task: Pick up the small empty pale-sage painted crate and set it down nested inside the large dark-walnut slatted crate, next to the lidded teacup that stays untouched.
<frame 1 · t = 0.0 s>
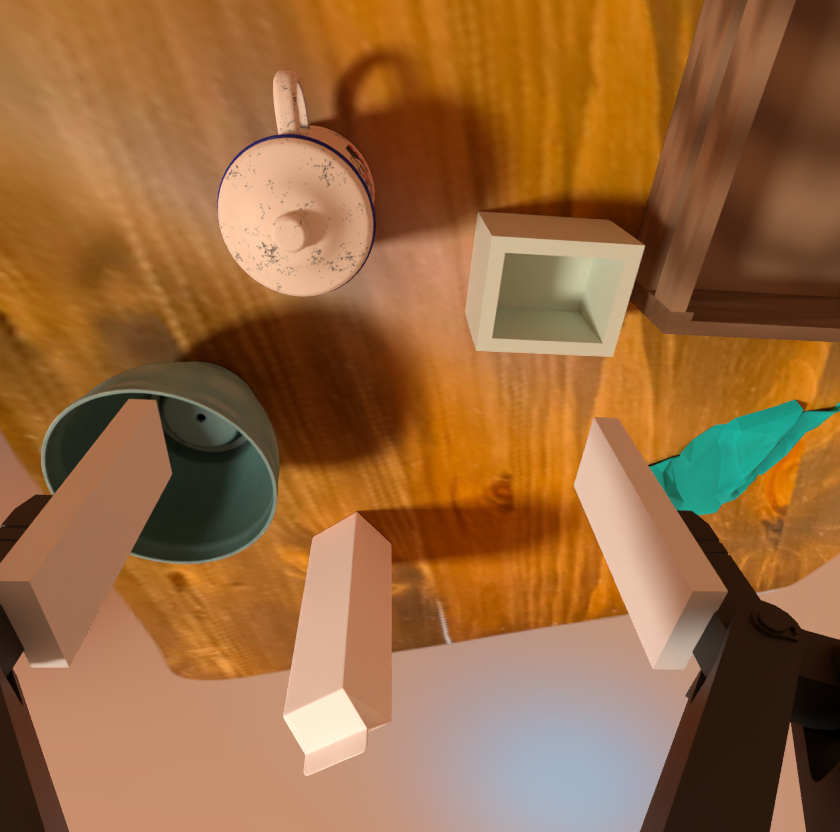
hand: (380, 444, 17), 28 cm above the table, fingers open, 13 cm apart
small crate: (533, 268, 43), on the table
flower pot: (206, 406, 48), on the table
crate: (802, 127, 38), on the table
cloth: (701, 461, 55), on the table
teacup with lid: (312, 170, 38), on the table
milk: (352, 538, 58), on the table
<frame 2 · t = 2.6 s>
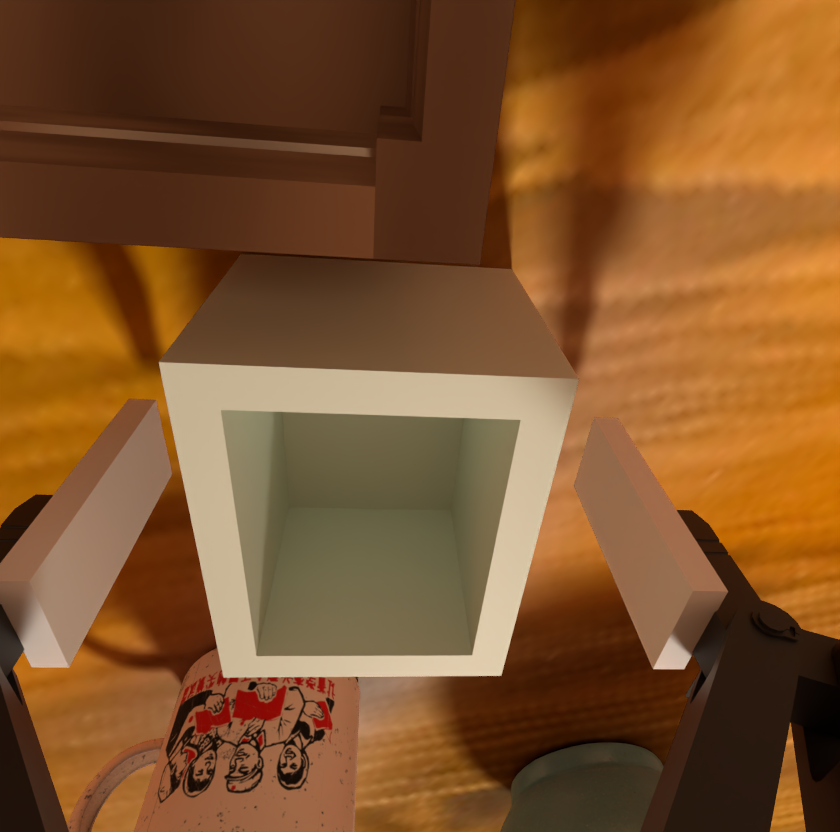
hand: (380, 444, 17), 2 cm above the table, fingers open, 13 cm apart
small crate: (374, 403, 19), on the table
flower pot: (583, 772, 35), on the table
teacup with lid: (245, 684, 28), on the table
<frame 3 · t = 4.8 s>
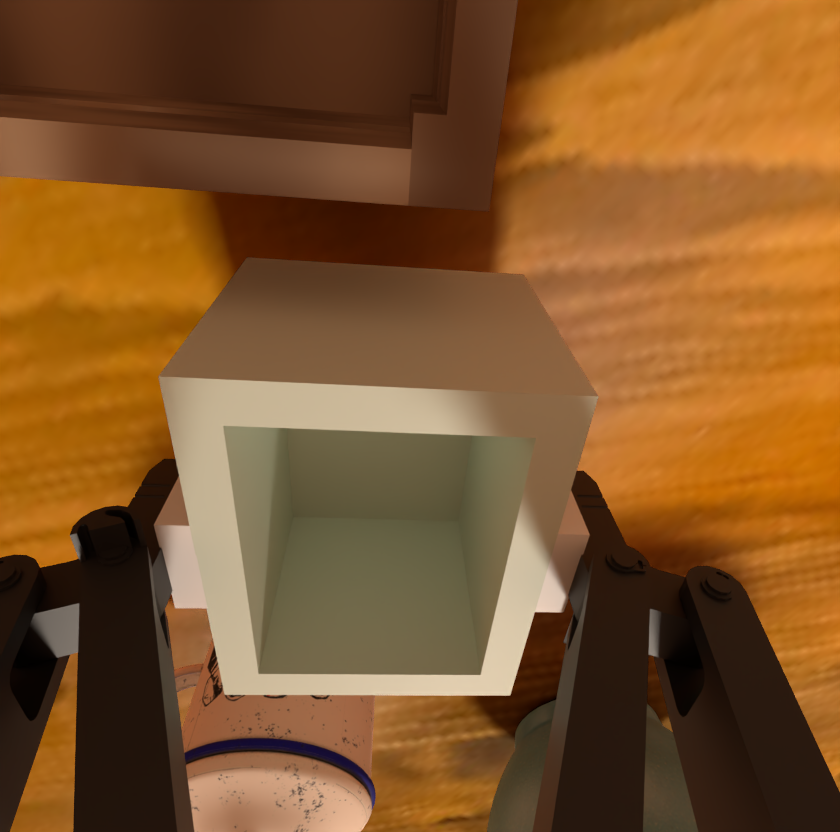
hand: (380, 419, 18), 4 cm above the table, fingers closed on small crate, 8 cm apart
small crate: (381, 411, 19), point 4 cm above the table, touching gripper
flower pot: (583, 724, 37), on the table
teacup with lid: (275, 623, 31), on the table
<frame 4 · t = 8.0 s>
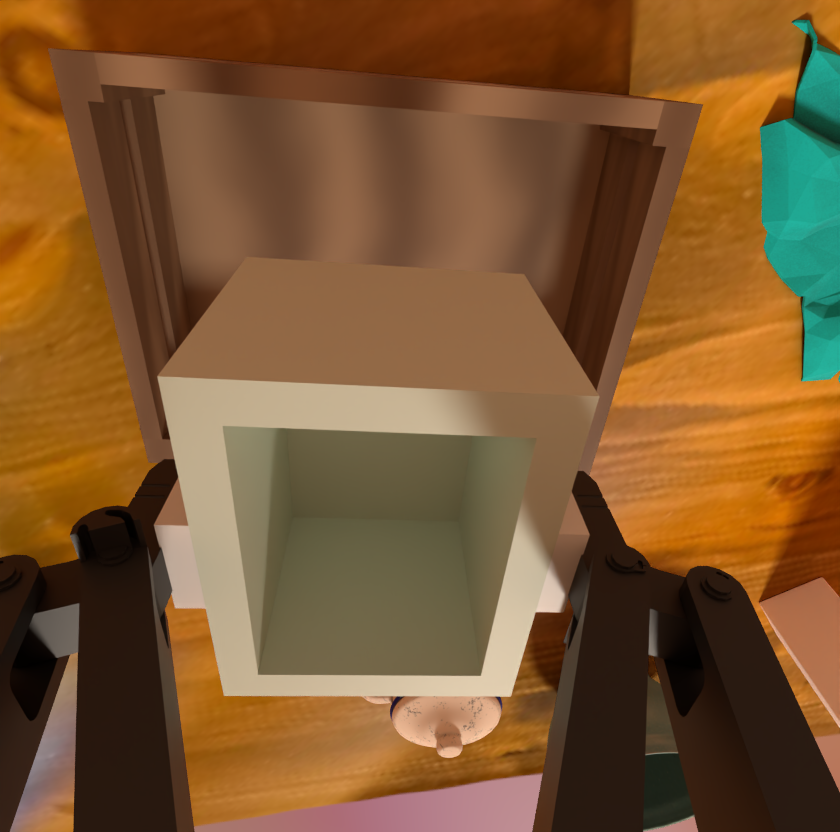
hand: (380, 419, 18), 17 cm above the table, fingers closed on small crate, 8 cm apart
small crate: (381, 411, 18), point 17 cm above the table, touching gripper
flower pot: (601, 681, 59), on the table
crate: (383, 260, 33), on the table
cloth: (838, 238, 34), on the table
teacup with lid: (423, 620, 52), on the table
milk: (796, 603, 53), on the table
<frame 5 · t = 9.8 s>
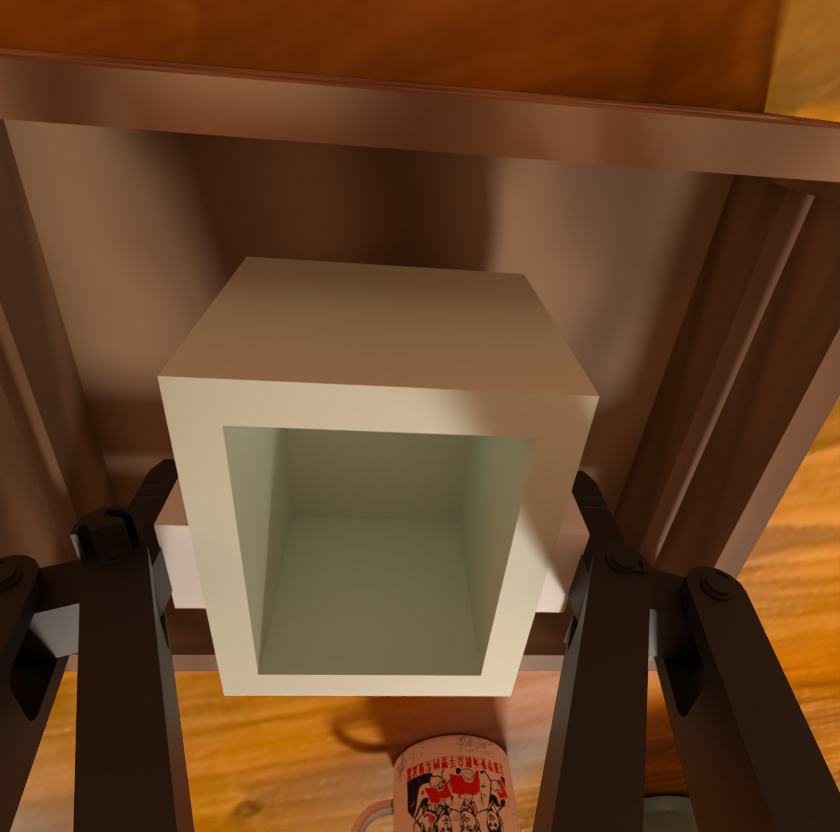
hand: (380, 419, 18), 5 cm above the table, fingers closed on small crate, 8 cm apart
small crate: (381, 411, 18), point 5 cm above the table, touching gripper
flower pot: (647, 814, 48), on the table
crate: (380, 352, 22), on the table
teacup with lid: (431, 760, 41), on the table
when the fingers open (2 cm above the table, at t = 11.4 s): small crate stays where it is, resting on crate.
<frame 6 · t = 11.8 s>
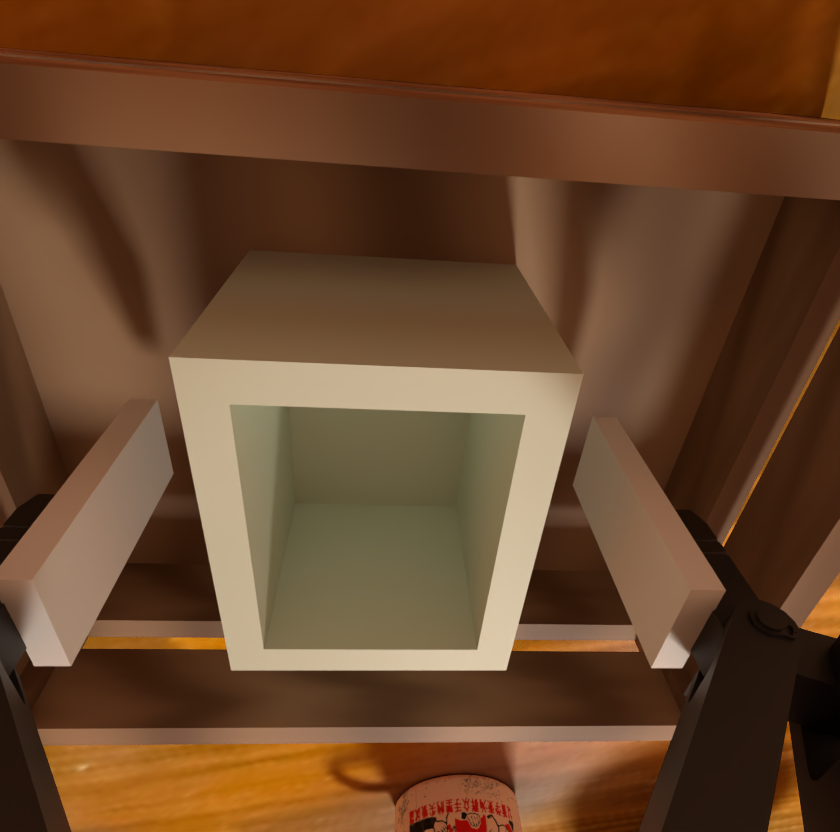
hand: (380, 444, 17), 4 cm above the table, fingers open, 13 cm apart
small crate: (380, 399, 19), point 1 cm above the table, touching crate
crate: (381, 382, 20), on the table
teacup with lid: (434, 799, 39), on the table
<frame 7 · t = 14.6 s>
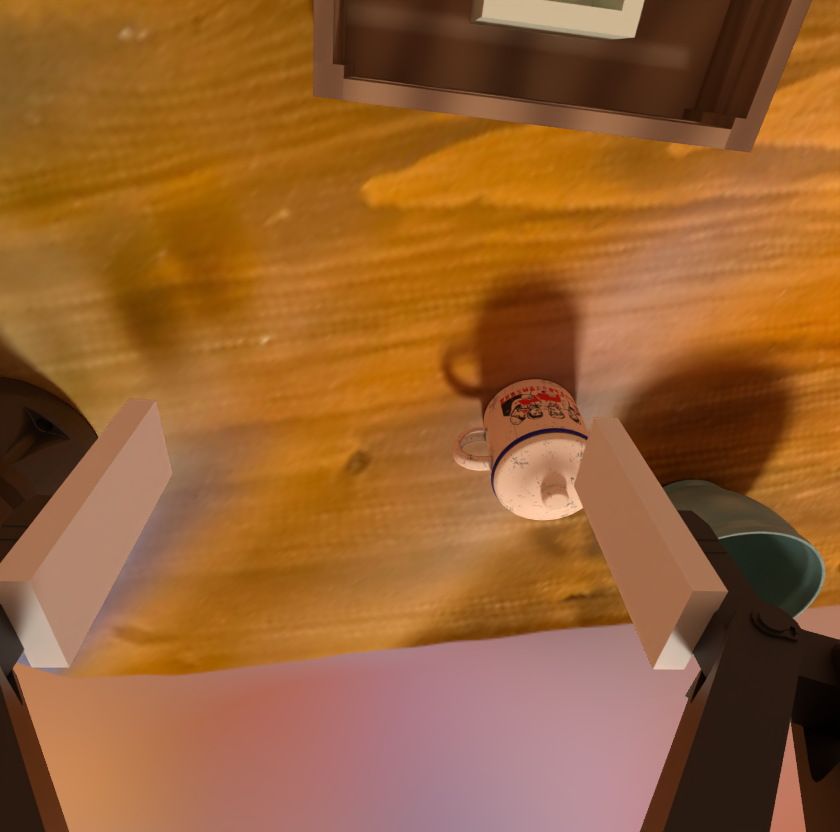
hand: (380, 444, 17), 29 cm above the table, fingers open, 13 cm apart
flower pot: (678, 511, 58), on the table
teacup with lid: (513, 416, 51), on the table
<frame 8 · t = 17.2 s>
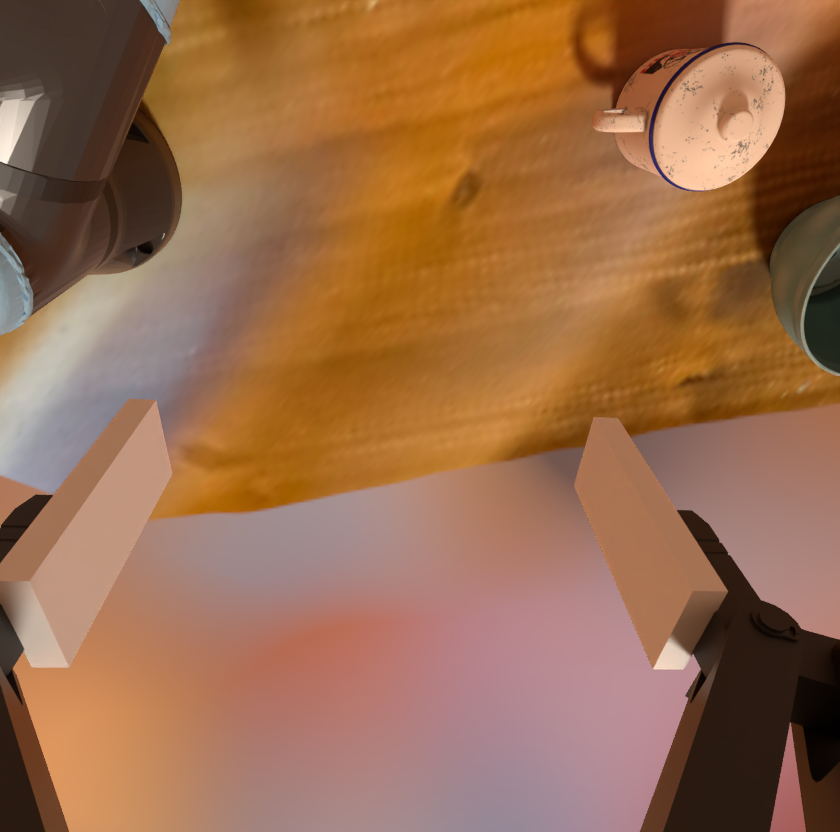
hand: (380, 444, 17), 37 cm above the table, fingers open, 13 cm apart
flower pot: (817, 249, 52), on the table
teacup with lid: (646, 112, 45), on the table
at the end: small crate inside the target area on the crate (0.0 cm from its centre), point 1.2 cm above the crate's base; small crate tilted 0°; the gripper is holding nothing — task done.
